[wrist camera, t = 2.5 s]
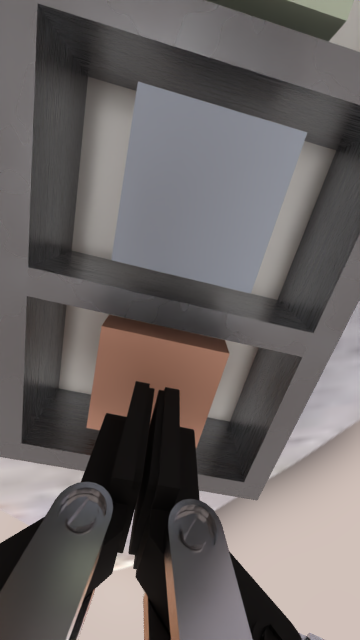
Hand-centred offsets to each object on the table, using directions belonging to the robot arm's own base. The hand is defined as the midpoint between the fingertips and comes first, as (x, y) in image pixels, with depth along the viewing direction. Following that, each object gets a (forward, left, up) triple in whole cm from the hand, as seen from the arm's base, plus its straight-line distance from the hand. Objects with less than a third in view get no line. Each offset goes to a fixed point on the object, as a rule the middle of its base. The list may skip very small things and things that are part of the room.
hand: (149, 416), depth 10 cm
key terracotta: (0, 0, -4) cm, 4 cm away
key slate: (-8, 0, -4) cm, 9 cm away
